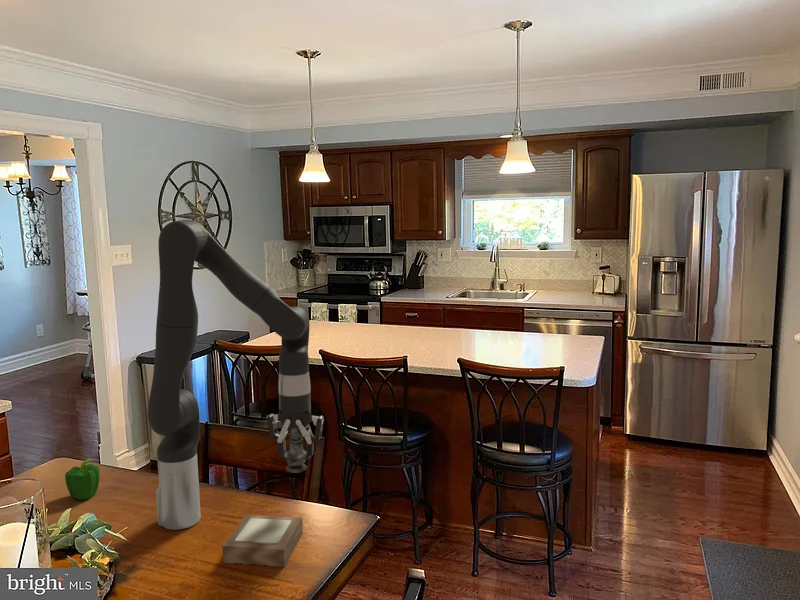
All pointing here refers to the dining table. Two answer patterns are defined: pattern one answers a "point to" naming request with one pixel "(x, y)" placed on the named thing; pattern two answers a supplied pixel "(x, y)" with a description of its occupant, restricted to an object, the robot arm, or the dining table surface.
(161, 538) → the dining table surface
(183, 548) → the dining table surface
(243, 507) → the dining table surface
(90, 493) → the bell pepper
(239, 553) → the base block
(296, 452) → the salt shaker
